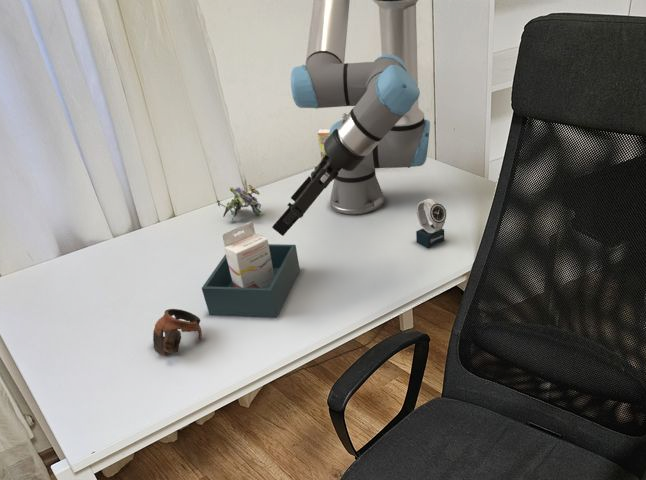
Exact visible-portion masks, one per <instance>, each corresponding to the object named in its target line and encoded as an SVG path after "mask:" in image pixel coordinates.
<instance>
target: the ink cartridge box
mask: <svg viewBox="0 0 646 480" xmlns="http://www.w3.org/2000/svg"><path fill="white" fill-rule="evenodd" d="M254 225H255V224H254V221H249V222H247V223H244V224H242V225H240V226H237V227H235V228H233V229H231V230H229V231H226V232H224V233H223V234H222V241H223V246H224V253H225V254H226V257H227V262H228V265H229V270H230V274H231V278H232V282H233V286H234V287H241V288H269V287H270V285H271V283H272V281H273V279H274V278H275V276H274V271H273V266H272V260H271V255H270V250H269V245H268V244H269V241H268V238H267V237H264V236H262V235H260V234H258V233H257V232H255V226H254ZM242 231H243V232H242ZM238 232H241V233H240V234H238ZM236 234H237V235H236ZM234 235H235V236H234Z"/></svg>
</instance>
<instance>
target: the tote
mask: <svg viewBox="0 0 646 480" xmlns="http://www.w3.org/2000/svg"><path fill="white" fill-rule="evenodd" d="M268 245H269V250H270V255H271V260H272V266H273V271H274V276H275V278H274V279H273V281H272V283H271V285H270V287H269V288H241V287H234V286H233V282H232V278H231V274H230V270H229V265H228V262H227V257H226V253H225V254H224V256H223V257H222V258H221V260H220V261H219V263H218V264H217V266H216V267H215V268H214V270H213V271H212V272H211V274H210V275H209V277H208V278H207V279H206V281H205V283H204V284H203V285H202V287H201V291H202V294H203V298H204V301H205V305H206V308H207V311H208V315H209V316H227V317H249V318H251V317H252V318H253V317H254V318H278V316H279V314H280V312H281V310H282V308H283V307H284V304H285V302H286V300H287V297H288V296H289V294H290V292H291V290H292V288H293V286H294V283H295V281H296V279H297V277H298V276H299V273H300V271H301V268H300V267H301V266H300V262H299V256H298V249H297V245H296V244H284V243H283V244H280V243H279V244H278V243H276V244H275V243H273V244H272V243H268Z"/></svg>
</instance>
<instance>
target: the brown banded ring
mask: <svg viewBox="0 0 646 480" xmlns="http://www.w3.org/2000/svg"><path fill="white" fill-rule="evenodd" d="M173 316H174V317H173ZM200 323H201V319H200V317H199V316H197V314H194V313H192V312H190V311H186V310H184V309H178V308H169V309H166V310H165V311H164V313H163V315H162V317H160V318H159V319H158V320H157V321H156V323H155V324H154V328H153V331H152V332H153V333H152V341H153V349H154V351H155V352H156V353H157V354H159V355H161V356H163V357H165V356H167V353H169V354H171V355H173V354H177V353H179V349H180V344H181V340H182V333H186V332H188V333H191V332H197V334H198V337H197V338H198V341H201V340H202V337H203V330H202V327H201V325H200ZM180 330H181V331H180ZM181 332H182V333H181Z"/></svg>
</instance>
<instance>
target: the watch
mask: <svg viewBox="0 0 646 480" xmlns="http://www.w3.org/2000/svg"><path fill="white" fill-rule="evenodd" d="M425 204H426V210H427V213H426V210H425ZM416 216H417V219H418V223H419V225H420V227H422V228H420V229H418V230H416V231H415V237H416V239H415V240H416V243H417V244H418V245H421V246H422V247H424V248H426V249H430V248H432V247H434V246H436V245H439V244H441V243H443V242H445V229H443V228H444V226H445V223H446V219H447V209H446V207H445V206H444V205H443V204H442V203H440V202H439V201H437V200H435V199H433V198H427V199H424V200H422V201H421V200H420V202H418V203H417V206H416ZM429 222H430V223H431V224H430V223H429Z"/></svg>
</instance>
